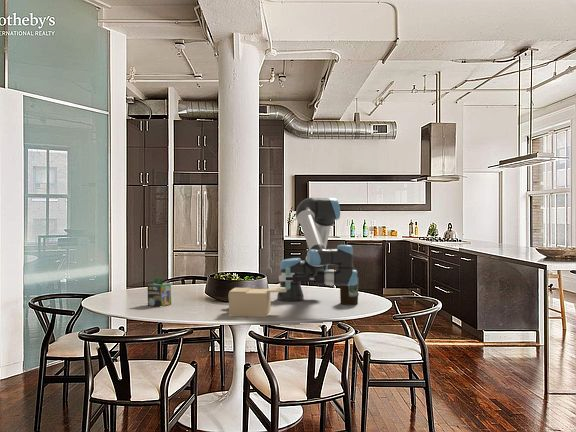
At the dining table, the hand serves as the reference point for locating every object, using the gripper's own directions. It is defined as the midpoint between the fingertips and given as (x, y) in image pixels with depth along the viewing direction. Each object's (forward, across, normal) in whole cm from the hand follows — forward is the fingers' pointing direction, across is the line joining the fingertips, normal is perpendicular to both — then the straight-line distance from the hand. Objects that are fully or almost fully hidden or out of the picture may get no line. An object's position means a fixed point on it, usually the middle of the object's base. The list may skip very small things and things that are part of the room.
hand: (280, 276), depth 273 cm
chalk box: (+67, +21, -18) cm, 72 cm away
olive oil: (-34, +36, -18) cm, 53 cm away
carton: (+15, 0, -18) cm, 23 cm away
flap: (0, 0, -7) cm, 7 cm away
